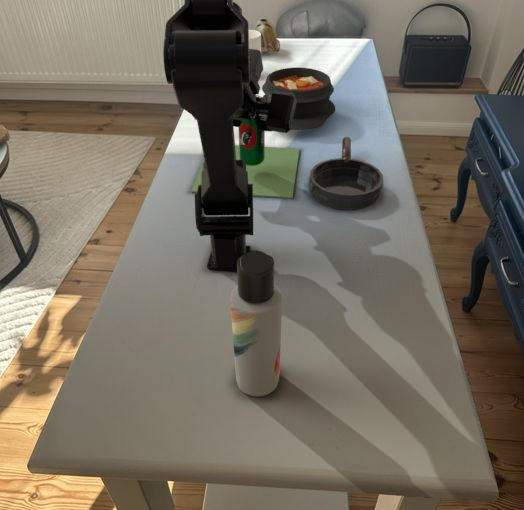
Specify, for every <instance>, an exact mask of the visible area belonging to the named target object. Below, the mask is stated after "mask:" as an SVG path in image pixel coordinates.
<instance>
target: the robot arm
mask: <svg viewBox="0 0 524 510" xmlns="http://www.w3.org/2000/svg"><path fill="white" fill-rule="evenodd" d="M249 30H250V29H249V21H248V19H247V18H246V17H244V16H243V9H242V8H241V7H240V5H239V4H237V2H234V0H184V3H183V5H182V6H181V7H180V8H179V9H178V10H177V11H175V13H174V14H173V15H172V16H171V17H170V18H169V19H168V20H167V21H166V23H165V29H164V37H163V38H164V39H163V49H162V51H163V52H162V56H163V68H164V74H165V80H166V83H167V84H168V85H172V88H173V91H174V95H175V97H176V100H177V104H178V106H179V108H182V109H183V110H184V111H185V112H187V113H189V114H190V115H191V117H193V119H194V120H195V121H196V123H197V128H198V133H199V139H200V143H201V149H202V154H203V158H204V159H205V161H204V159H203V161H204V163H203V162H202V164H203V171H202V183H201V185H198V189H197V193H195V194H194V217H195V227H196V228H195V229H196V230H197V232H198V233H199V237H204V236H209V240H210V249H211V251H210V254H209V258H208V261H207V264H206V268H207V270H214V271H226V272H229V271H230V272H237V260H238V258H239V257H241V256H243V255H244V254H245V253H247V252H249V251H252V247H251V246H250V245H247V238H246V237H247V236H254V196H253V184H248V172H247V171H246V163H245V162H244V160H236V151H235V145H236V141H235V128H238V120H242V121H249V122H250V119H251V118H255V117H256V112H257V113H259V116H260V120H259V125H258V130H262V131H265V132H277V133H283V134H288V133H289V132H290V131H291V130H290V129H291V125H292V121H293V116H294V112H295V108H296V103H297V100H296V97H295V96H294V94H293V93H291V92H283V91H275V90H274V92H273V93H272V95H268V94H266V95H265V94H264V95H262V96H261V97H262V98H260V97H256V95H259V94H260V89H261V86H260V84H259V81H260V78H261V76H262V73H263V71H264V64H263V58H262V57H263V56H262V53H261V52H260V51H259V50H256V49H249ZM260 75H261V76H260ZM258 102H259V103H258ZM254 112H255V113H254Z"/></svg>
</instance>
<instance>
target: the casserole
mask: <svg viewBox="0 0 524 510" xmlns="http://www.w3.org/2000/svg"><path fill="white" fill-rule="evenodd" d="M261 90H262V92H263V93H264V95H266V94H268V95H272V93H273V92H274V90H275V91H283V92H291V93H293V94H294V96H295V97H296V100H297V103H296V108H295V112H294V116H293V121H292V125H291V129H290V131H309V130H315V129H319V128H321V127H323V126H325V124H326V122H327V120H328V119H329V118H331V116H333V115H334V114H335V112H336V106H335V104H334V102H333V101H332V100H331V96H332V95H333V93H334V92H335V88H334V86H333V84H332V81H331V77H330V76H329V75H328V74H327V73H325V72H323V71H321V70H319V69H315V68H309V67H286V68H280V69H277V70H274V71H272V72H270V73H269V74H268V75H267V76H266V78H265V82H264V83H263V84H262V87H261Z"/></svg>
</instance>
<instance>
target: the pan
mask: <svg viewBox="0 0 524 510" xmlns="http://www.w3.org/2000/svg"><path fill="white" fill-rule="evenodd" d="M344 160H345V159H343V158H342V157H339V158H330V159H326V160H324V161H320V162H319V163H317V164H315V165H314V166H313V167H312V169H311V170H310V172H309V182H308V192H309V194H310V196H311V197H312V198H313V199H314V200H315V201H317V202H318V203H320V204H322V205H324V206H326V207H329V208H333V209H338V210H357V209H358V210H359V209H364V208H367V207H369V206H372V205H373V204H374V203H376V202H377V201H378V200H379V199H380V197H381V194H382V191H383V185H384V175H383V173H382V172H381V170H380V169H379V168H377V166H375V165H373V164H371V163H369V162H366V161H364V160H360V159H357V158H356V159H355V158H351V159H349V162H350V163H349V165H347V166H345V165H344V164H343V161H344Z"/></svg>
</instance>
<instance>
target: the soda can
mask: <svg viewBox="0 0 524 510" xmlns="http://www.w3.org/2000/svg"><path fill="white" fill-rule="evenodd" d="M256 97H260V98H262V97H263V96H261V95H259V94H256ZM258 103H259V102H258ZM254 113H255V112H254ZM259 120H260V116H259V113H257V112H256V117H255V118H251V119H250V122H249V121H242V120H238V127H237V129H238V146H239V154H240V160H244V162H245V163H246V165H248V166H255V165H259V164H261V163H262V162H263V161H264V159H265V147H266V143H265V141H266V139H265V133H266V131H262V130H258V125H259Z"/></svg>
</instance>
